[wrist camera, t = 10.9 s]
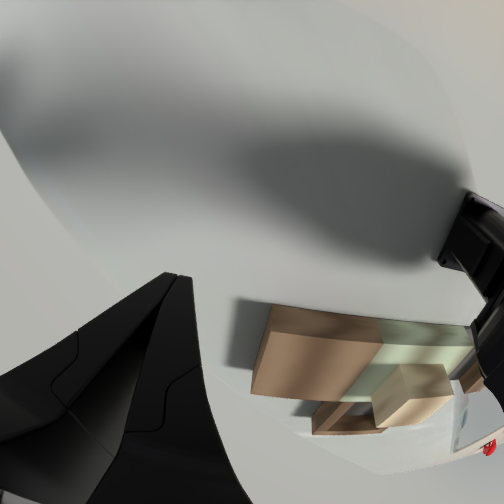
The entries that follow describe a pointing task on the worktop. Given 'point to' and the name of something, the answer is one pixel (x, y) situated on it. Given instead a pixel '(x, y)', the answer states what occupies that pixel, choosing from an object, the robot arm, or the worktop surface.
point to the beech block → (411, 394)
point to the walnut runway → (352, 362)
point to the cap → (490, 448)
